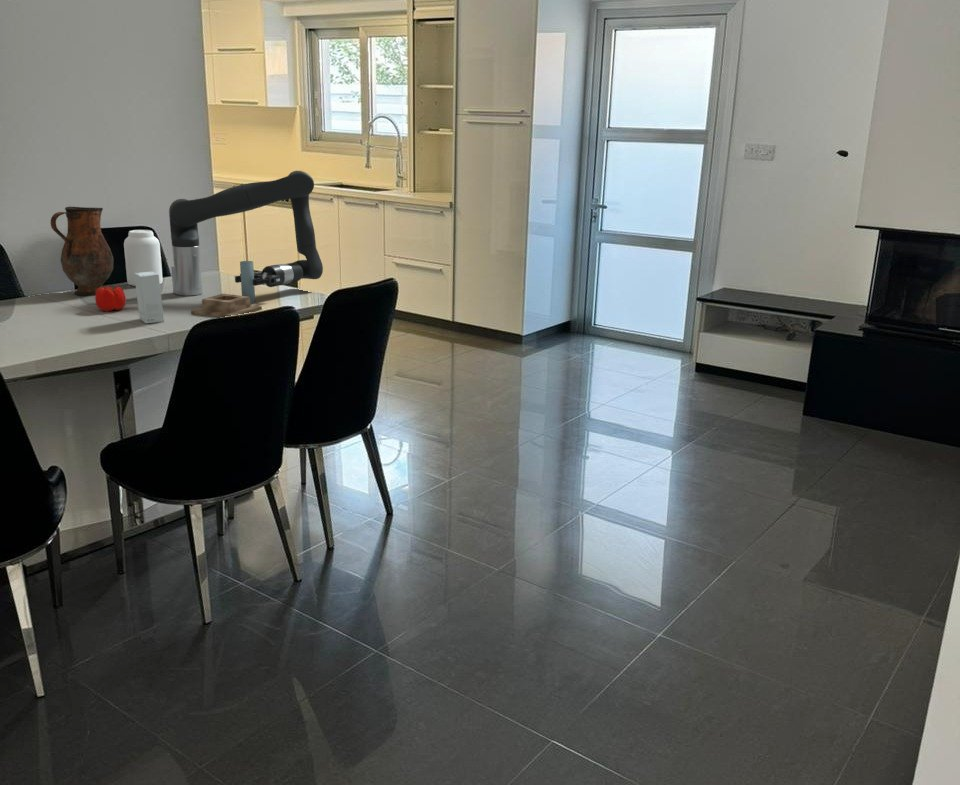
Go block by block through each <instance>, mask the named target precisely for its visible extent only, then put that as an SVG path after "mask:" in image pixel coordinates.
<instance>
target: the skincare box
mask: <svg viewBox="0 0 960 785" xmlns="http://www.w3.org/2000/svg"><path fill="white" fill-rule="evenodd" d="M134 276H135V284H136V286H135V291H136V299H137V306H138V307H137V308H138V316H139V320H140V321H142V322H143V323H144V324H151V323H152V324H153V323H164V322H165V317H164V310H163V309H164V308H163V302H162V301H163V299H162V294H161V292H162V291H161V284H160V283H159V275H158V274H156V273H154V272H141V273H134Z"/></svg>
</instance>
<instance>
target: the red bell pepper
mask: <svg viewBox="0 0 960 785" xmlns="http://www.w3.org/2000/svg"><path fill="white" fill-rule="evenodd" d="M94 296H95V298H94V300H95V304H96V306H97V307H96V308H98V309H100V310H102V311H104V312H111V311H113V310H116V311H119V310H121V309H123V308H124V307H125V305H126V294H125V292H124V289H123V288H122V287H120V286H115V287H114V286H113V287H111V286H103V288H99V289H98V290H97V291H96V295H94Z"/></svg>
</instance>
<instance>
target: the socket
mask: <svg viewBox="0 0 960 785" xmlns="http://www.w3.org/2000/svg"><path fill="white" fill-rule="evenodd" d="M201 302H202V307H198V308H194V309H192V310H190V314H194V315H202V316H209V317H218V318H224V317H225V316H231V315H238V314H244V313H249V312H252V313H254V312H258V311H260V310H261V311H262V310H263V307H262V306H260V305H252V304H251V303H250V297H247V296H242V295H239V294H238V295H237V294H230V293H220V294H217V295H214V296H213V295H212V296H209V297H206V298H202V299H201ZM249 314H250V313H249Z"/></svg>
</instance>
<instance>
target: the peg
mask: <svg viewBox="0 0 960 785" xmlns="http://www.w3.org/2000/svg"><path fill="white" fill-rule="evenodd" d="M239 267H240V269H239V271H240V272H239V273H240V274H241V282H240V289H241V296H247V297H250V304H254V303H256V294H255V291H256V290H255V289H256V288H255V286H254V285H253V279H254V272H255V271H254V268H255V267H254V261H252V260H242V261H239Z"/></svg>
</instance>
